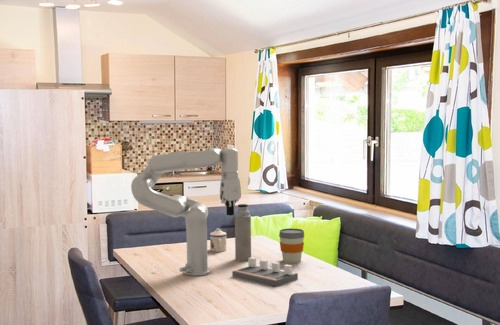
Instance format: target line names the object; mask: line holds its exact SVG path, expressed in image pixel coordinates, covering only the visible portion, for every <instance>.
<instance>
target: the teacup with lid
mask: <svg viewBox="0 0 500 325" xmlns="http://www.w3.org/2000/svg"><path fill="white" fill-rule="evenodd" d="M227 235H228V234H227V232H225V231H223V230H221V229H220V228H216V230H214V231H212V232H210V233H209V236H210V237H209V240H210V241H209V242H210V245H209V248H210V251H211V252H215V253H221V252H225V251H227Z"/></svg>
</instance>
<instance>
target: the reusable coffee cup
mask: <svg viewBox="0 0 500 325" xmlns="http://www.w3.org/2000/svg"><path fill="white" fill-rule="evenodd" d="M278 236H279V240H280V241H279V246H280V252H281V256H282V261H283V262H285V263H290V264H291V263H300V262H302V261H301V260H302V255H303V251H304V245H305V244H304V243H305V242H304V238H305V230H304V229H302V228H294V227H293V228H283V229H280V230H279V235H278Z"/></svg>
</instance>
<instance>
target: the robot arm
mask: <svg viewBox="0 0 500 325" xmlns="http://www.w3.org/2000/svg"><path fill="white" fill-rule="evenodd" d="M217 164H221V174H220V176H221V179H220V184H219V200H221V201H220V203H221V204H224V206H225V207H226V215H227V216H235V206H236V203H237V202H238V201H239V200H241V198H242V187H241V181H240V178H239V152H238V149H236V148H219V147H211V148H209V149H205V150H199V151H190V152H189V151H177V152H172V153H171V152H170V153H164V154H162V153H159V154H155V155H153V156H151V157H150V158H149V160H148V163H147V165H146V166H145V168H144V169H143V170H142V171H141V173H140V174H138V175H137V176H135V177H134V178H133V179H132V181H131V186H130V187H131V194H132V195H133V198H134V199H135V201H136V202H138V203H139V204H140V205H142V206H144V207H146V208H148V209H151V210H154V211H156V212H159V213H161V214H163V215H167V216H169V217H171V218H178V217H183V218H185V228H186V229H185V230H186V231H185V232H186V237H185V238H186V263H185V266H182V267H180V268H179V269H178V270H179V272H180V273H183V274H184V275H187V276H196V277H197V276H206V275H209V274H211V272H212V269H211V268H210V267H208V263H209V262H208V228H207V227H208V226H207V223H208V222H207V218H208V216H209V208H208V207H207V205H206V204H205V203H203V202H201V201H199V200H196V199H193V198H190V197H187V196H184V195H181V194H173V195H169V194H165V193H162V192H160V191H156V190H154V189H152V188H153V187H154V186H155V185H156V184H157V183H158V181H159V180H160V179H161V177H162V176H163V175H164V174H165V173H172V172H179V171H187V170H192V169H193V170H194V169H202V168H209V167H213V166H214V167H215V166H216V165H217Z"/></svg>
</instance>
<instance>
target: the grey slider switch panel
mask: <svg viewBox="0 0 500 325" xmlns="http://www.w3.org/2000/svg"><path fill="white" fill-rule="evenodd" d="M247 262H248V266H245V267H242V268H239V269H236V270H235V269H234V270H232V272H231V273H232V274H231V277H233V278H236V279H240V280H245V281H249V282H254V283H258V284H260V285H261V284H262V285H267V286H270V287H275V288H277V287H279V286H282V285H284V284H288V283H290V282H293V281H296V280H298V279H299V276H298V275H299V273H298V272H293V265H290V264H284V265H283V269H280V271H279V272H274V271H272V267H270V266H269V264H268V260H267V259H260V260H259V264H257V258H256V257H253V256H251V257H250V258H248V261H247Z"/></svg>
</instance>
